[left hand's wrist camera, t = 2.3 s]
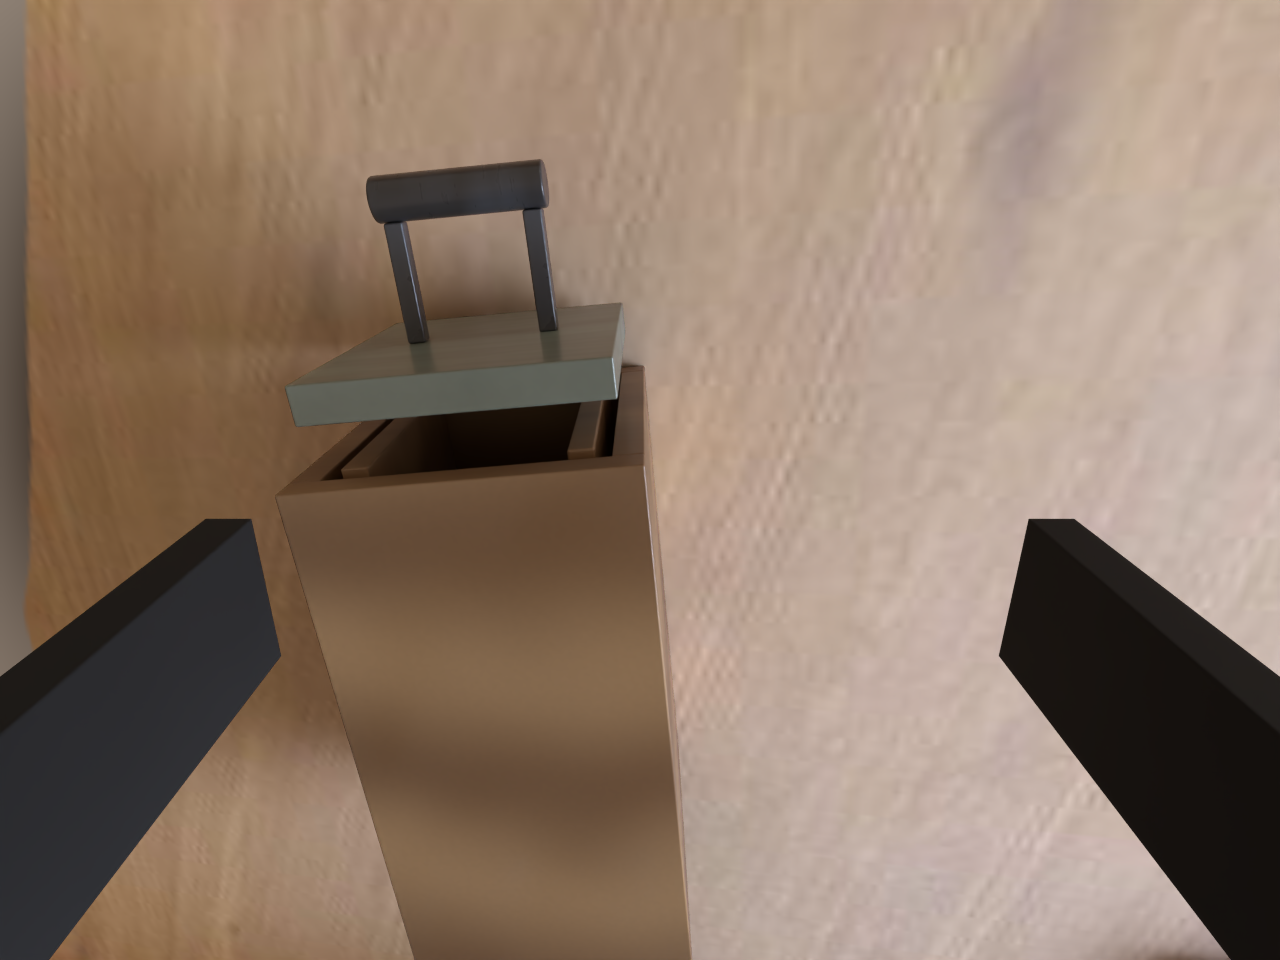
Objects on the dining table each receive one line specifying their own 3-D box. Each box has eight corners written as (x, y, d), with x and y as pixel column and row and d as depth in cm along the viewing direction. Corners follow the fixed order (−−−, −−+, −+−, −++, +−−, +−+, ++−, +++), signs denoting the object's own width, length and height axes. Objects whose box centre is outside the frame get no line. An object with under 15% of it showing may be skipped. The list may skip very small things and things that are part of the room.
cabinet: (403, 386, 31) (273, 495, 20) (643, 365, 31) (644, 464, 20) (484, 759, 39) (422, 986, 28) (678, 746, 38) (692, 970, 27)
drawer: (365, 182, 27) (225, 181, 18) (608, 158, 27) (590, 144, 18) (478, 709, 36) (423, 886, 27) (661, 696, 36) (667, 870, 27)
